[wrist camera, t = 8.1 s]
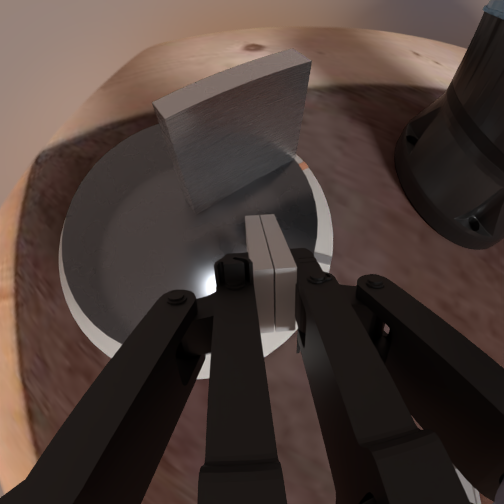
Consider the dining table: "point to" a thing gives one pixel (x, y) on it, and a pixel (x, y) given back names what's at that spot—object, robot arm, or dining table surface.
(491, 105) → the robot arm
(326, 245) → the dial base
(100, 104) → the dining table surface
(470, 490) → the adjustable wrench
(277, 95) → the dial
